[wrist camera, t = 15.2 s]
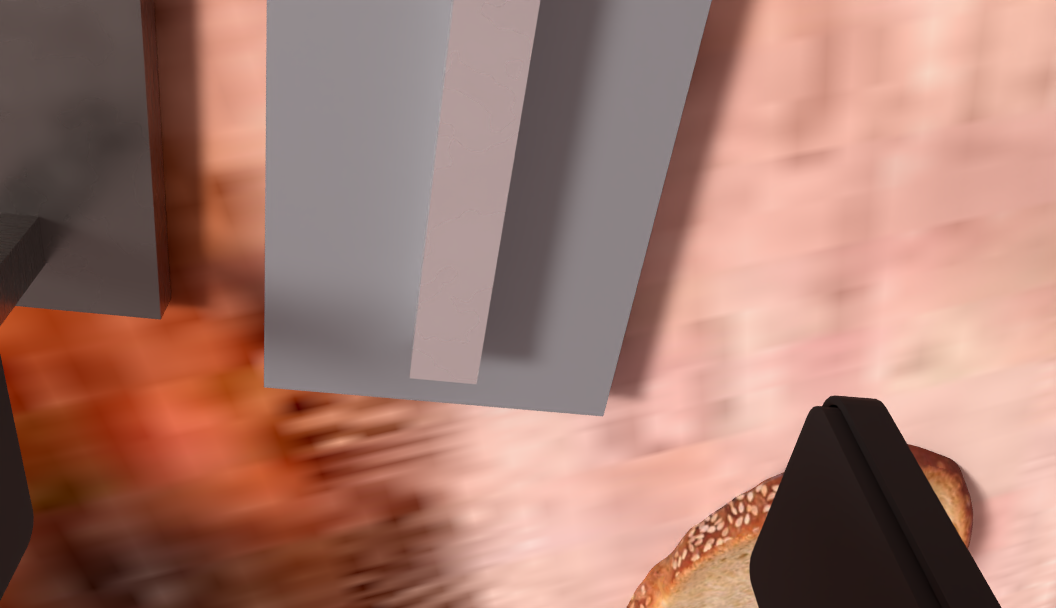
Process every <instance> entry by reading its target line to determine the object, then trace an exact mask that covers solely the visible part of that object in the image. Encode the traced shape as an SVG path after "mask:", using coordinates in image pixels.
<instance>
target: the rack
mask: <svg viewBox="0 0 1056 608" xmlns="http://www.w3.org/2000/svg"><path fill="white" fill-rule="evenodd" d="M170 299H171V290H170V272H169V255H168V237H167V220H166V202H165V184H164V167H163V149H162V132H161V114H160V97H159V79H158V62H157V44H156V26H155V9H154V0H0V326H1V324H2V323H3V322H4V320H5V319H6V317H7V316H8V315H9V313H10V312H11V311H12V309H13V308H14V307H15V306H23V307H34V308H44V309H55V310H66V311H76V312H87V313H98V314H108V315H119V316H130V317H140V318H151V319H161V318H162V316H163V314H164V312H165V310H166V308H167V306H168V304H169V302H170Z"/></svg>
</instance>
